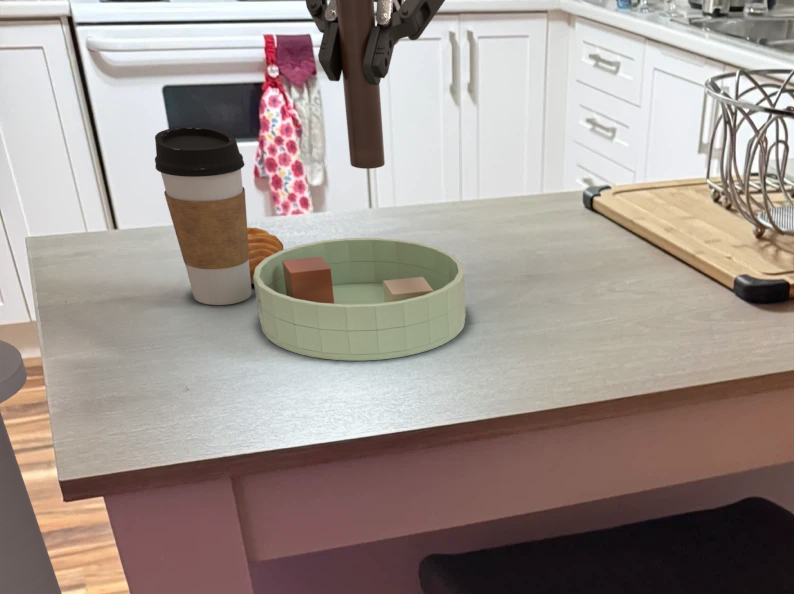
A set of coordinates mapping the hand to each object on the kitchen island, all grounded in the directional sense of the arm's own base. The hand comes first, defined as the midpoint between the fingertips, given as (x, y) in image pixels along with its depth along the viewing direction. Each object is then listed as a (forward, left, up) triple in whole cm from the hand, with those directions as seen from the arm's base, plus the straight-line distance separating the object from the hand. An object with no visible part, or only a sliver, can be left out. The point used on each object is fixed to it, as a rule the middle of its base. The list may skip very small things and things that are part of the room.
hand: (350, 75), depth 86 cm
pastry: (-6, +24, -22) cm, 34 cm away
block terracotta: (-4, +10, -22) cm, 24 cm away
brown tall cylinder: (+1, +2, -7) cm, 7 cm away
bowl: (+1, +6, -22) cm, 23 cm away
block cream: (+4, +1, -22) cm, 22 cm away
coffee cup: (-11, +18, -22) cm, 31 cm away
